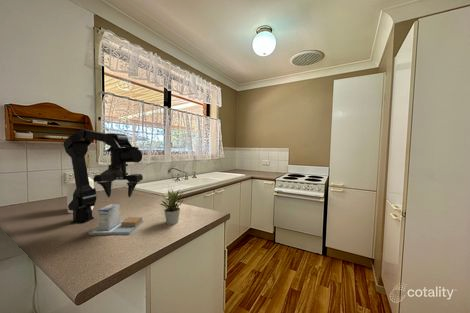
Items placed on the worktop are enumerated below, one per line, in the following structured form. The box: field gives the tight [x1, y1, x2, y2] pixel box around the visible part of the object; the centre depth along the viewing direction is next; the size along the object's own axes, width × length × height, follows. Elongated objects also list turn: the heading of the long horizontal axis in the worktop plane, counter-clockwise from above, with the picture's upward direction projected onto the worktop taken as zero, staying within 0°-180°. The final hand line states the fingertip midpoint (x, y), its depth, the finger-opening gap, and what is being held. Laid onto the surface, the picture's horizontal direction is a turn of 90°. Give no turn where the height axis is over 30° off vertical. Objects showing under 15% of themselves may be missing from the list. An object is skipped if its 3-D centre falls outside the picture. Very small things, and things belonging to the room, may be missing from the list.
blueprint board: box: [88, 216, 144, 236], centre depth 81 cm, size 16×12×3 cm
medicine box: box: [97, 203, 121, 230], centre depth 80 cm, size 8×4×9 cm, turn 2°
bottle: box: [65, 175, 95, 214], centre depth 104 cm, size 12×12×25 cm
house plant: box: [157, 188, 188, 226], centre depth 88 cm, size 14×14×16 cm
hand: (119, 197), depth 83 cm, fingers open, 9 cm apart
